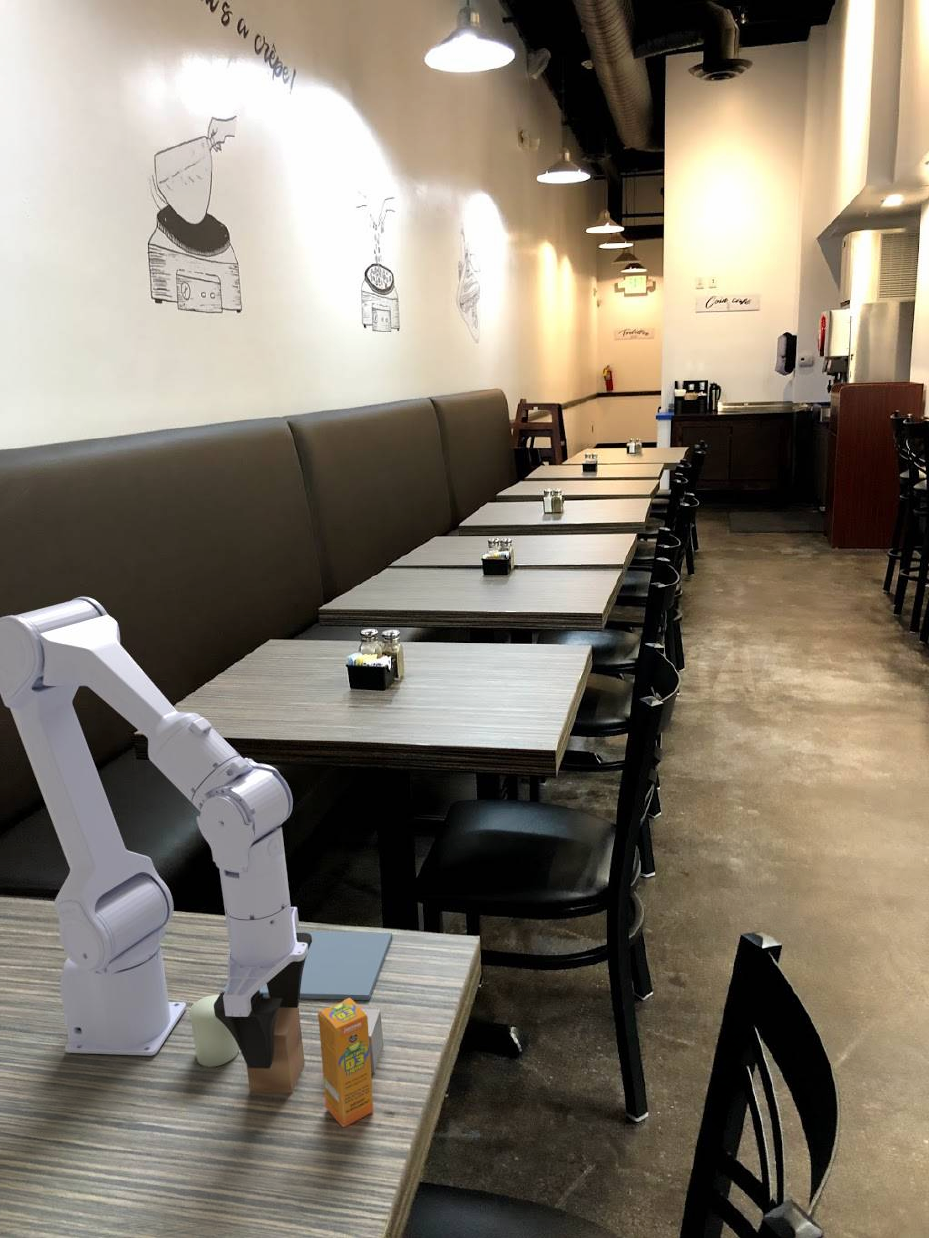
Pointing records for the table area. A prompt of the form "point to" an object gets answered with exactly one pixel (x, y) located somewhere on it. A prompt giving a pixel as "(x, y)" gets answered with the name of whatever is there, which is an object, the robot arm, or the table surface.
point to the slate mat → (341, 965)
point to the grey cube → (374, 1036)
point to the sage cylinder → (211, 1034)
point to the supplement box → (346, 1061)
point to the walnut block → (281, 1056)
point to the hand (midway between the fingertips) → (273, 1037)
